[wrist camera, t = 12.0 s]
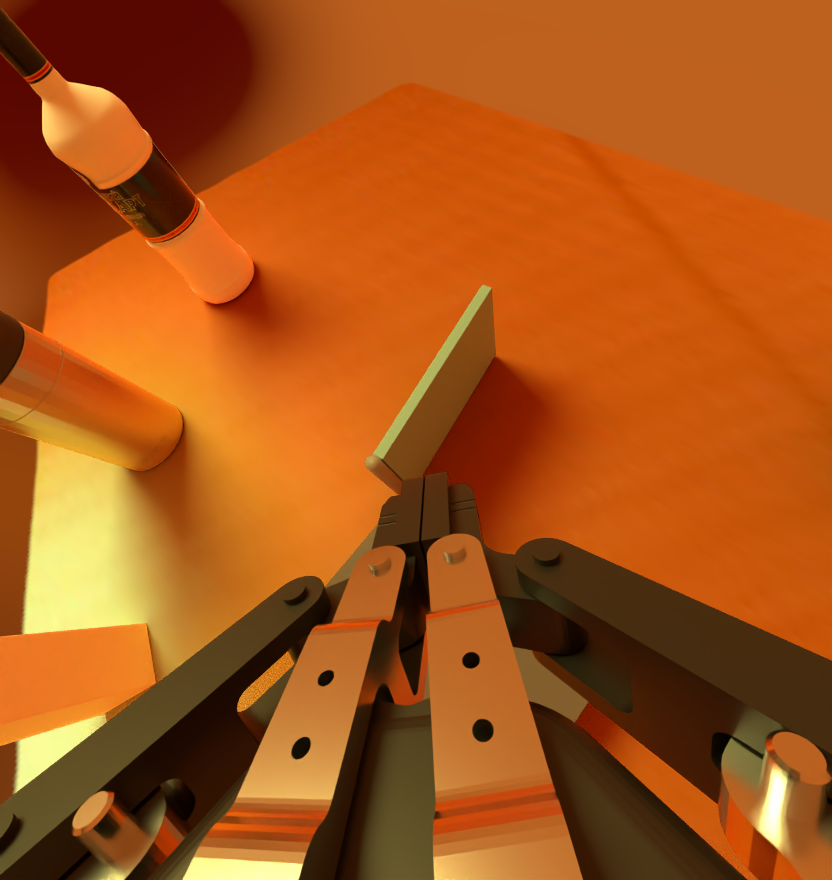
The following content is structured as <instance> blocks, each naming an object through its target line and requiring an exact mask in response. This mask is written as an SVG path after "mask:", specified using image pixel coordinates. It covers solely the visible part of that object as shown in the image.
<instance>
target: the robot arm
mask: <svg viewBox="0 0 832 880" xmlns="http://www.w3.org/2000/svg"><path fill="white" fill-rule="evenodd" d="M0 428H2V429H5V430H8V431H11V432H14V433H17V434H21V435H24V436H27V437H30V438H33V439H36V440H40V441H43V442H46V443H49V444H52V445H55V446H59V447H62V448H65V449H68V450H71V451H74V452H78V453H81V454H84V455H87V456H90V457H93V458H97V459H100V460H103V461H106V462H109V463H112V464H115V465H119V466H122V467H125V468H128V469H132V470H135V471H143V470H148V469H151V468H153V467H155V466H157V465H158V464H160V463H162V462H163V461H164V460H165V459H166V458H167V457H168V456H169V455H170V454H171V453H172V451H173V450H174V449H175V447H176V445H177V444H178V442H179V439H180V437H181V433H182V429H183V420H182V415H181V413H180V411H179V410H178V409H177V408H176V407H175V406H173V405H171V404H170V403H168V402H166V401H164V400H162V399H161V398H159V397H157V396H155V395H153V394H152V393H150V392H148V391H146V390H145V389H143V388H141V387H139V386H137V385H135V384H134V383H132V382H130V381H128V380H126V379H124V378H123V377H121V376H119V375H117V374H115V373H113V372H112V371H110V370H108V369H106V368H104V367H102V366H101V365H99V364H97V363H95V362H93V361H91V360H90V359H88V358H86V357H84V356H82V355H80V354H79V353H77V352H75V351H73V350H71V349H70V348H68V347H66V346H64V345H62V344H60V343H59V342H57V341H55V340H53V339H51V338H49V337H47V336H45V335H44V334H42V333H40V332H38V331H36V330H34V329H32V328H31V327H28V326H27V325H25V324H23V323H22V322H20V321H18V320H16V319H14V318H12V317H11V316H9V315H7V314H5V313H3V312H1V311H0ZM428 612H430V613H428ZM513 647H516V648H521V649H527V650H532V653H533V655H534V657H535V658H536V659H537V661H538V662H539V663H540V664H542V665H543V666H544V667H545V668H547V669H548V670H549V671H550V672H552V673H553V674H554V675H555V676H557V677H558V678H559V679H560V680H562V681H563V682H564V683H565V684H567V685H568V686H569V687H571V688H572V689H573V690H574V691H576V692H577V693H578V694H579V695H581V696H582V697H583V698H584V699H586V700H587V701H588V702H589V703H591V704H592V705H593V706H594V707H596V708H597V709H598V710H600V711H601V712H602V713H603V714H605V715H606V716H607V717H608V718H610V719H611V720H612V721H613V722H615V723H616V724H617V725H618V726H620V727H621V728H622V729H624V730H625V731H626V732H627V733H629V734H630V735H631V736H632V737H634V738H635V739H636V740H637V741H639V742H640V743H641V744H642V745H644V746H645V747H646V748H647V749H649V750H650V751H651V752H653V753H654V754H655V755H656V756H658V757H659V758H660V759H661V760H663V761H664V762H665V763H666V764H668V765H669V766H670V767H671V768H673V769H674V770H675V771H677V772H678V773H679V774H680V775H682V776H683V777H684V778H685V779H687V780H688V781H689V782H690V783H692V784H693V785H694V786H695V787H697V788H698V789H699V790H700V791H702V792H703V793H704V794H706V795H707V796H708V797H709V798H711V799H712V800H713V801H714V802H716V803H717V804H718V811H719V818H720V822H721V826H722V828H723V831H724V833H725V836H726V838H727V840H728V841H729V843H730V845H731V847H732V849H733V850H734V852H735V853H736V855H737V856H738V858H739V859H740V860H741V861H742V863H743V864H744V865H745V866H746V867H747V869H748V870H749V871H750V872H751V873H752V874H753V875H754V876H755V877H756V878H757V879H758V880H832V661H831V660H829V659H827V658H824V657H822V656H820V655H818V654H815V653H813V652H811V651H809V650H806V649H804V648H802V647H800V646H797V645H795V644H793V643H791V642H788V641H786V640H784V639H782V638H780V637H777V636H775V635H773V634H771V633H768V632H766V631H764V630H762V629H759V628H757V627H755V626H753V625H750V624H748V623H746V622H744V621H741V620H739V619H737V618H735V617H733V616H730V615H728V614H726V613H724V612H721V611H719V610H717V609H715V608H712V607H710V606H708V605H706V604H703V603H701V602H699V601H697V600H695V599H692V598H690V597H688V596H686V595H683V594H681V593H679V592H677V591H674V590H672V589H670V588H668V587H665V586H663V585H661V584H659V583H656V582H654V581H652V580H650V579H648V578H645V577H643V576H641V575H639V574H636V573H634V572H632V571H630V570H627V569H625V568H623V567H621V566H618V565H616V564H614V563H612V562H609V561H607V560H605V559H603V558H601V557H598V556H596V555H594V554H592V553H589V552H587V551H585V550H583V549H580V548H578V547H576V546H574V545H571V544H569V543H567V542H565V541H562V540H558V539H553V538H540V539H535V540H532V541H529V542H527V543H525V544H524V545H522V546H521V547H520V548H519V549H518V550H517V552H516V554H515V555H513V554H503V553H499V552H496V551H493V550H491V549H489V548H488V547H487V546H486V545H485V544H484V540H483V534H482V528H481V524H480V519H479V515H478V510H477V505H476V501H475V496H474V492H473V489H472V488H471V487H470V486H469V485H467V484H466V483H461V484H455V485H451V483H450V479H449V475H448V472H447V471H446V472H441V473H435V474H430V475H426V477H425V476H420V477H415V478H410V479H405V480H403V482H402V488H401V493H400V495H398V496H393V497H390V498H389V499H388V500H387V502H386V503H385V504H384V505H383V506H382V510H381V514H380V518H379V522H378V526H377V530H376V534H375V538H374V542H373V545H372V549H371V550H370V551H368V552H367V553H365V554H364V555H363V556H361V557H360V558H359V559H358V561H357V562H356V564H355V566H354V568H353V571H352V573H351V576H350V578H348V579H346V580H344V581H342V582H339V583H337V584H334V585H332V586H329V587H327V588H325V587H324V585H323V582H322V581H321V580H320V579H319V578H317V577H314V576H304V577H300V578H297V579H295V580H292V581H290V582H289V583H287V584H285V585H284V586H283V587H281V588H280V589H279V590H277V591H276V592H275V593H273V594H272V595H271V596H270V597H268V598H267V599H266V600H264V601H263V602H262V603H261V604H259V605H258V606H257V607H255V608H254V609H253V610H251V611H250V612H249V613H248V614H246V615H245V616H244V617H242V618H241V619H240V620H239V621H237V622H236V623H235V624H233V625H232V626H231V627H230V628H228V629H227V630H226V631H224V632H223V633H222V634H221V635H219V636H218V637H217V638H215V639H214V640H213V641H211V642H210V643H209V644H208V645H206V646H205V647H204V648H202V649H201V650H200V651H199V652H197V653H196V654H195V655H193V656H192V657H191V658H190V659H188V660H187V661H186V662H184V663H183V664H182V665H181V666H179V667H178V668H177V669H175V670H174V671H173V672H171V673H170V674H169V675H168V676H166V677H165V678H164V679H162V680H161V681H160V682H159V683H157V684H156V685H155V686H153V687H152V688H151V689H150V690H148V691H147V692H146V693H144V694H143V695H142V696H140V697H139V698H138V699H137V700H135V701H134V702H133V703H131V704H130V705H129V706H128V707H126V708H125V709H124V710H122V711H121V712H120V713H119V714H117V715H116V716H115V717H113V718H112V719H111V720H110V721H108V722H107V723H106V724H104V725H103V726H102V727H100V728H99V729H98V730H97V731H95V732H94V733H93V734H91V735H90V736H89V737H88V738H86V739H85V740H84V741H82V742H81V743H80V744H79V745H77V746H76V747H75V748H73V749H72V750H71V751H70V752H68V753H67V754H66V755H64V756H63V757H62V758H60V759H59V760H58V761H57V762H55V763H54V764H53V765H51V766H50V767H49V768H48V769H46V770H45V771H44V772H42V773H41V774H40V775H39V776H37V777H36V778H35V779H33V780H32V781H31V782H29V783H28V784H27V785H26V786H24V787H23V788H22V789H20V790H19V791H18V792H17V793H15V794H14V795H13V796H11V797H10V798H9V799H8V800H6V801H5V802H4V803H2V804H1V805H0V880H747V879H746V878H745V877H744V876H743V875H742V874H741V873H739V872H738V871H737V870H736V869H735V868H734V867H733V866H732V865H731V864H730V863H729V862H727V861H726V860H725V859H724V858H723V857H722V856H721V855H720V854H719V853H718V852H717V851H716V850H714V849H713V848H712V847H711V846H710V845H709V844H708V843H707V842H706V841H705V840H704V839H702V838H701V837H700V836H699V835H698V834H697V833H696V832H695V831H694V830H693V829H692V828H691V827H689V826H688V825H687V824H686V823H685V822H684V821H683V820H682V819H681V818H680V817H679V816H677V815H676V814H675V813H674V812H673V811H672V810H671V809H670V808H669V807H668V806H667V805H666V804H664V803H663V802H662V801H661V800H660V799H659V798H658V797H657V796H656V795H655V794H654V793H652V792H651V791H650V790H649V789H648V788H647V787H646V786H645V785H644V784H643V783H642V782H641V781H639V780H638V779H637V778H636V777H635V776H634V775H633V774H632V773H631V772H630V771H629V770H627V769H626V768H625V767H624V766H623V765H622V764H621V763H620V762H619V761H618V760H617V759H616V758H614V757H613V756H612V755H611V754H610V753H609V752H608V751H607V750H606V749H605V748H604V747H602V746H601V745H600V744H599V743H598V742H597V741H596V740H595V739H594V738H593V737H592V736H591V735H589V734H588V733H587V732H586V731H585V730H584V729H582V728H581V727H580V726H578V725H577V724H576V723H574V722H573V721H572V720H570V719H569V718H567V717H565V716H564V715H562V714H560V713H558V712H557V711H555V710H553V709H550V708H548V707H546V706H543V705H541V704H538V703H534V702H531V701H528V697H527V694H526V691H525V687H524V684H523V680H522V677H521V674H520V670H519V667H518V663H517V660H516V657H515V653H514V650H513ZM287 651H288V652H289V654H290V656H291V658H292V660H293V662H294V663H295V665H294V666H293V667H292V668H290V669H289V670H288V671H287V672H286V673H285V674H284V675H283V676H282V677H281V678H280V679H279V680H278V681H277V682H276V683H275V684H274V685H273V686H272V687H270V688H269V689H268V690H267V691H266V692H265V693H264V694H263V695H262V696H261V697H260V698H259V699H258V700H257V701H256V702H255V703H254V704H253V705H251V706H250V707H249V708H248V709H246V710H244V711H242V712H237V704H238V701H239V698H240V696H241V695H242V693H243V692H244V691H245V690H246V689H247V688H248V687H249V686H250V685H251V684H252V683H253V682H254V681H255V680H256V679H258V678H259V677H260V676H261V675H262V674H263V673H264V672H265V671H266V670H267V669H269V668H270V667H271V666H272V665H273V664H274V663H275V662H276V661H277V660H278V659H280V658H281V657H282V656H283V655H284V654H285V653H286V652H287ZM427 665H428V667H429V686H430V698H428V699H426V700H424V693H425V683H426V674H427Z"/></svg>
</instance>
